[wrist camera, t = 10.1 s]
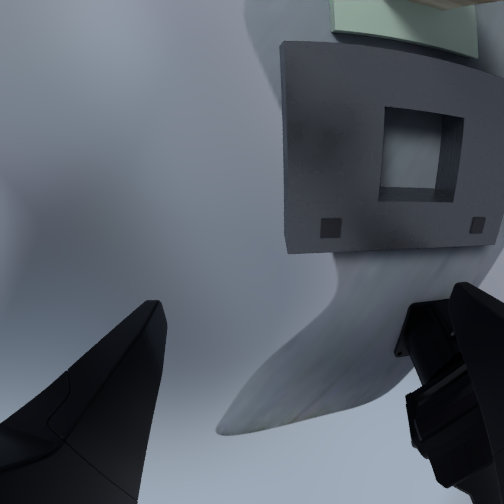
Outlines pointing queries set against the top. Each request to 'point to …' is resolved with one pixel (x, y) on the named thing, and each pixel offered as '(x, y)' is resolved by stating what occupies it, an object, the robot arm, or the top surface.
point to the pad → (408, 23)
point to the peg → (451, 3)
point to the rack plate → (371, 146)
